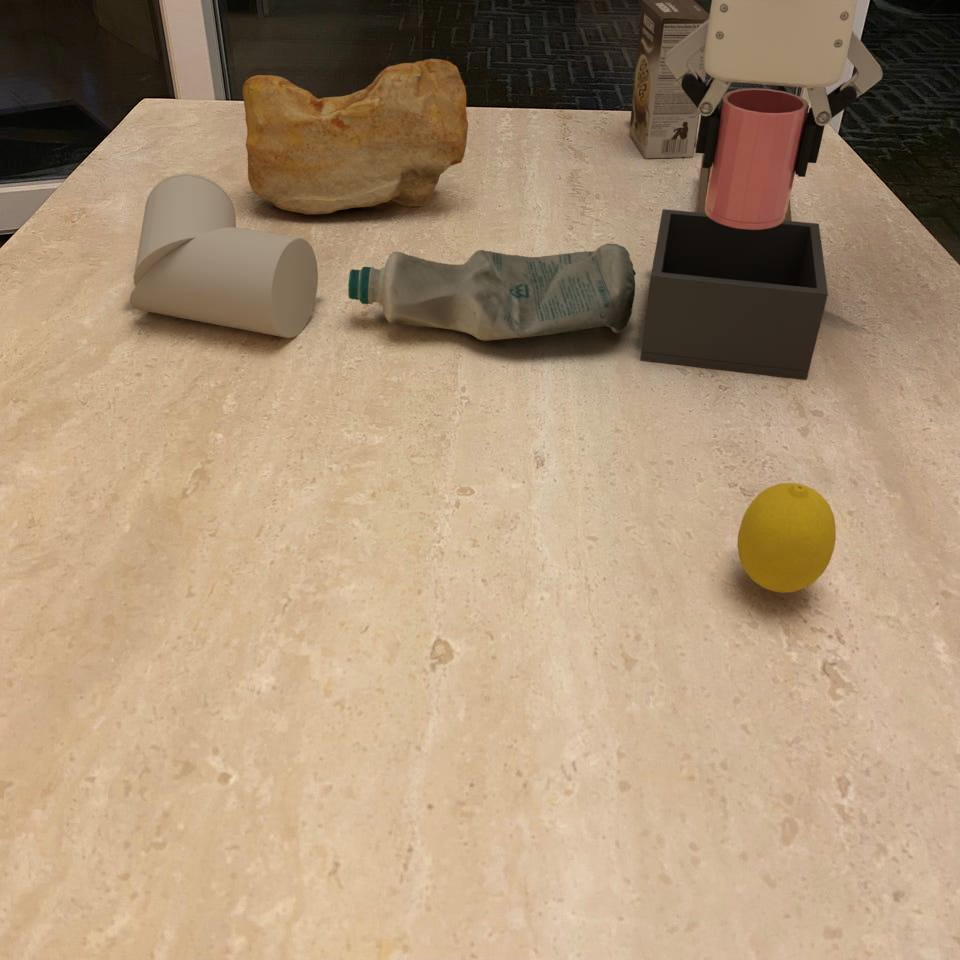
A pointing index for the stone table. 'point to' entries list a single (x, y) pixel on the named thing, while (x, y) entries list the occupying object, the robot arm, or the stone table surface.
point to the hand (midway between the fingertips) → (753, 164)
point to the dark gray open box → (735, 296)
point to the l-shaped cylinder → (219, 263)
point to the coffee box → (665, 81)
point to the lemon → (786, 537)
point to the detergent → (504, 292)
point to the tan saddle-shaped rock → (355, 139)
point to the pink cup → (755, 158)
